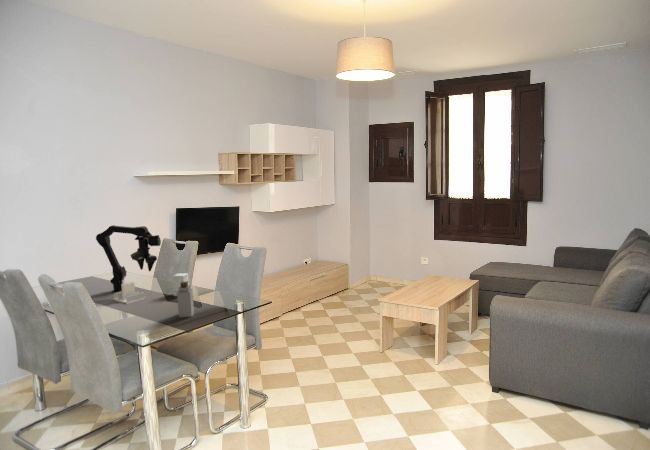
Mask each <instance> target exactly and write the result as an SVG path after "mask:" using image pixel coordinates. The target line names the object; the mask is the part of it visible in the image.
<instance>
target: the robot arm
mask: <svg viewBox="0 0 650 450" xmlns="http://www.w3.org/2000/svg"><path fill="white" fill-rule="evenodd" d="M114 233H120V234H129V235H130V234H131V235H134V236H136V237H135V238H134V240H135V241H137V242H138V248H137V249H136V250H137V251H135V252H133V253H132V254H130V257H131V259H132V260H134V261H136V262H137V264H138V266H139V269H140V271H141V270H143V269H144V264H145V263H146V265H147V269H148V272H151V271H152V269H153V266H154V264H155V262H156V261H158V258H157V255H153V254H152V255H151V253H150V250H151V247H160V246H161V244H162V243H161V241H162V240H161V237H160V235H157V234H156V235H152V233H151V232H150V231H149V229H148V227H147V226H145V225H143V226H141V225H140V226H132V227H131V226H121V225H115V224H114V225H112V224H111V225H110V226H108V228H107V229H105V230H103V232H100V233H98V234H96V236H95V240H96V241H97V243H98V245H99V246H100V247H102V249H103V250H104V253H105V255H106V257H107V259H108V261H109V263H110V265H111V267H112V275H113V277H112V278H111V279H110V283H111V284H112V287H113V289H112V290H111V292H112V293H116V292H120V291H122V286H121V284H124V283H123V281H124V280H125V278H126V276H127V270H126V268H125V266H124V265H123V266H122V265H120V262H119V260H118V258H117V255H116V254H115V252H114V250H113V247H112V245H111V235H112V234H114Z"/></svg>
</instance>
